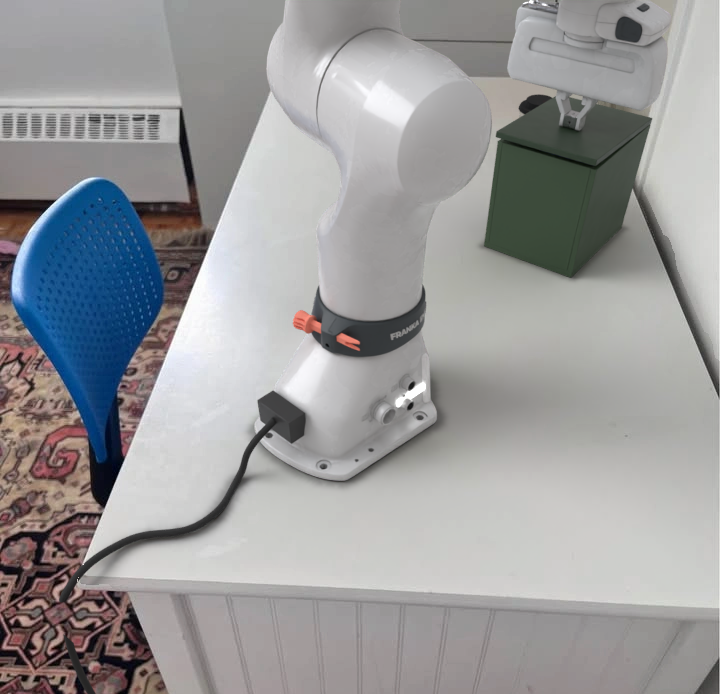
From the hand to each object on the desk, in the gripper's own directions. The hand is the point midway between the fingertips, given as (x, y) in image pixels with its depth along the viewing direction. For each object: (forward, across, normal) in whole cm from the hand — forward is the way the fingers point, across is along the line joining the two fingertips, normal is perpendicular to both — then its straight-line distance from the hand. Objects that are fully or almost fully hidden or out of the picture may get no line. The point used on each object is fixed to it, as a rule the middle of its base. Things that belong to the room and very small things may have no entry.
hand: (571, 127), depth 98 cm
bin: (+17, 0, +2) cm, 17 cm away
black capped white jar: (+17, -16, +24) cm, 34 cm away
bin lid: (+1, 0, +2) cm, 2 cm away
